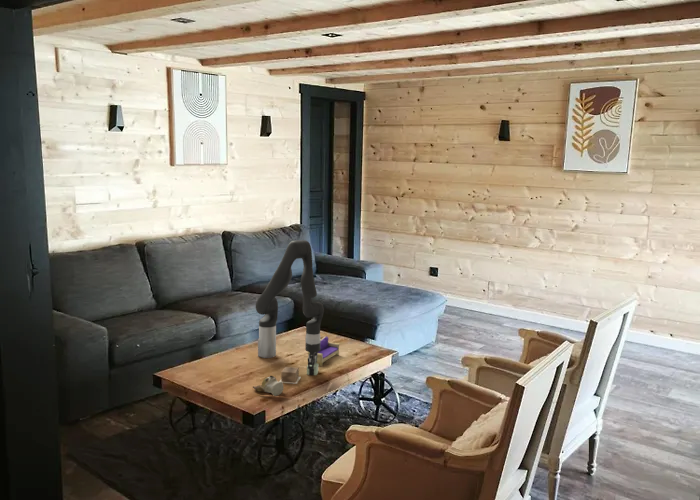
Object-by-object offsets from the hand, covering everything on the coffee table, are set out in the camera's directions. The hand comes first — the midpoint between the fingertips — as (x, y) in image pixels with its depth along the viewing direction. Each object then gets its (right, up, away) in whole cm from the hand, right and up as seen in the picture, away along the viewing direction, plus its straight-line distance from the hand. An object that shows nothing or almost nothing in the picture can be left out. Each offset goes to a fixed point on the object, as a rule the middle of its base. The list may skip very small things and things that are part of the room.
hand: (312, 373), depth 309 cm
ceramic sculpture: (-18, -4, -24) cm, 31 cm away
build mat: (-11, -2, -9) cm, 14 cm away
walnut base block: (-11, -1, -10) cm, 14 cm away
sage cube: (0, -1, 0) cm, 0 cm away
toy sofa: (+5, +3, +23) cm, 24 cm away
